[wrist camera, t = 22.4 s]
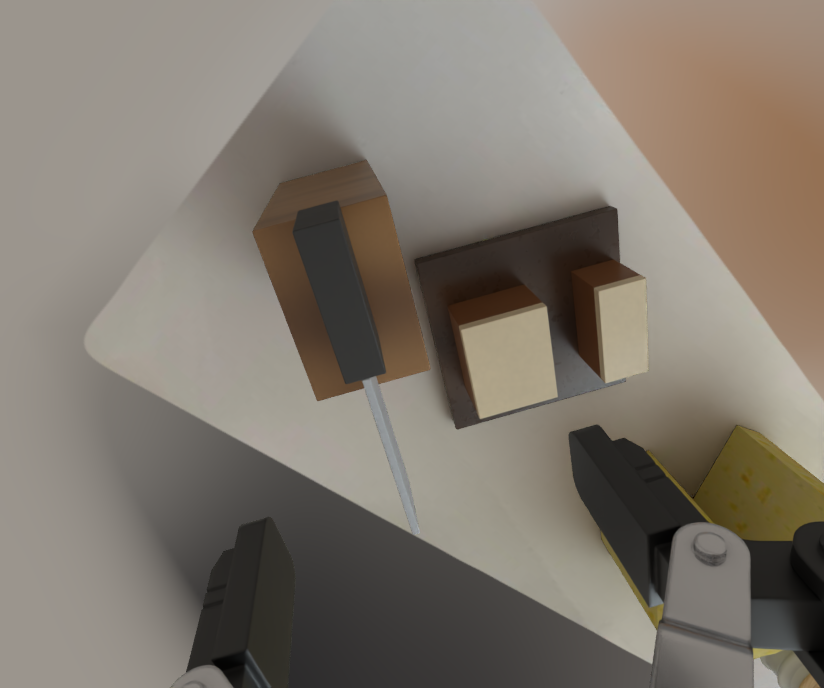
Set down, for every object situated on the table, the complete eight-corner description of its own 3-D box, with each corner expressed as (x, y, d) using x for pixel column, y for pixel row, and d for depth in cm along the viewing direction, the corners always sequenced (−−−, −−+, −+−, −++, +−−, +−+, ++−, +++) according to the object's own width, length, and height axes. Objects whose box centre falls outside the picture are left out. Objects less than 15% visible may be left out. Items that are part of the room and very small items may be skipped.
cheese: (694, 393, 62) (793, 474, 49) (817, 467, 71) (929, 553, 58) (561, 540, 70) (616, 644, 57) (687, 590, 79) (760, 691, 66)
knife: (297, 210, 29) (291, 231, 25) (338, 199, 29) (339, 218, 25) (391, 488, 39) (399, 539, 35) (421, 479, 39) (433, 529, 35)
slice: (570, 271, 52) (598, 291, 46) (613, 259, 52) (646, 278, 46) (579, 356, 56) (605, 383, 51) (618, 345, 56) (648, 371, 51)
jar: (798, 602, 85) (904, 718, 69) (723, 629, 85) (812, 750, 69) (799, 551, 79) (916, 664, 63) (719, 580, 79) (815, 700, 63)
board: (414, 259, 50) (416, 263, 49) (609, 205, 51) (617, 208, 49) (453, 422, 59) (456, 429, 58) (619, 375, 60) (626, 381, 58)
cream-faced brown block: (447, 305, 51) (460, 330, 46) (524, 284, 51) (546, 306, 46) (465, 388, 56) (479, 419, 50) (536, 368, 56) (558, 397, 51)
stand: (279, 183, 46) (251, 231, 30) (366, 159, 46) (386, 194, 30) (321, 305, 51) (317, 401, 35) (399, 283, 51) (431, 369, 35)
